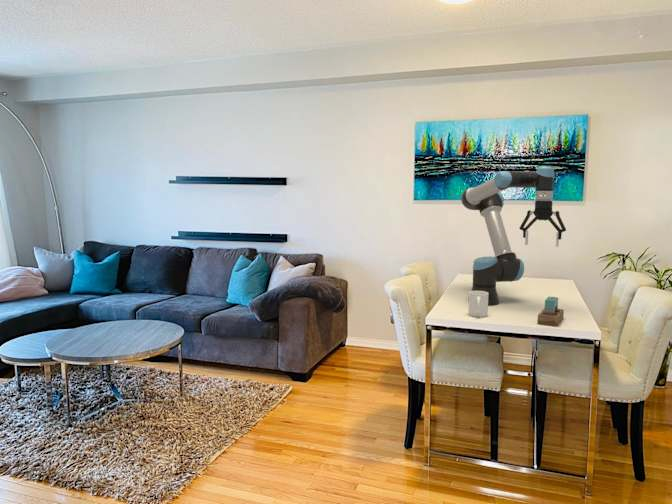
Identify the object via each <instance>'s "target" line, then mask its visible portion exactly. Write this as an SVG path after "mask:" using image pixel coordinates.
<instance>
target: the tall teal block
mask: <svg viewBox="0 0 672 504" xmlns="http://www.w3.org/2000/svg"><path fill="white" fill-rule="evenodd" d="M544 308H545V311H544V314H546V315H555V312H557V311H558V309H559V297H558V296H557V297H556V296H548V297H547V298H546V299H545V300H544Z"/></svg>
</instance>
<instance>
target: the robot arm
mask: <svg viewBox="0 0 672 504" xmlns="http://www.w3.org/2000/svg"><path fill="white" fill-rule="evenodd" d="M554 179H555V168H554V167H553V166H538V167H537V168H536V171H510V170H507V171H506V170H503V171H498V172H497V173H496V174H495V176H494V177H493V178H491V179H489V180H487V181H485V182H482V183H481V184H479V185H476V186H475V187H474V186H472V187H469V188H467V189H465V190H464V191H463V192H462V193H461V197H460V198H461V199H460V200H461V203H462V205H463V206H464V208H466V209H468V210H470V211H479V213H480V216H481V217H483V218H484V222H485V225H486V228H487V232H488V236H489V239H490V243H491V246H492V250H493V253H494V256H481V257H477V258H475V259H474V260H473V265H472V288H471V290H470V291H485V292H488V293H489V294H488V306H496V305H499V303H500V298H499V294H498V292H497V283H501V282H503V283H505V282H509V283H510V282H516V281H517V282H518V281H519V280H521V278H522V277H523V276H524V272H525V264H524V262H523V260H522V259H520V258H517V255H516V253H515V252H513V251H512V249H511V245H510V242H509V238H508V235H507V231H506V228H505V224H504V221H503V218H502V215H501V212H502V210H503V209H502V208H503V207H504V202H505V199H504V196H503V194H502V192H503V191H505V190H507V189H509V188H511V189H512V188H522V189H523V188H525V189H531V188H532V189H533V188H534V189H535V199H534V200H535V201H534V210H531V209H530V210H527V212H526V216H525V218H524V220H523V221H522V222H521V225H520V226H519V230H520V231H522V238H524V239H525V240H524V241H525V242H524V246H528V245H529V229H530V228H531V226H532V225H533V224H534V223H535V222H537V220H538V221H548V222H550V224H551V225H552V226H553V228H555V230H556V231H557V232H556V233H555V237H556V238H555V247H556V248H558V247H559V243H560V242H559V241H560V240H562V236H563V235H562V234H563V232H566V231H567V229H566V226H565V224H564V222H563V219H562V217H561V216H560V215H561V214H560V211H559V210H555V211H554V210H553V201H552V200H553V197H554V181H555V180H554ZM532 215H534V216H535V217H533V219H532V220H531V221H530V222H529V223H528V224H527V222H528V221H529V219H530V217H531V216H532ZM553 215H554V216H555V218H556V220H557V221H558V223H559V226H558V224H557V223H556V222H555V221H554V219H553V218H552V216H553ZM560 227H561V228H560ZM468 302H469V299H468Z"/></svg>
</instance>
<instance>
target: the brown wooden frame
mask: <svg viewBox="0 0 672 504" xmlns="http://www.w3.org/2000/svg"><path fill="white" fill-rule="evenodd" d="M544 311H545V307H543V309H542V310H541V311H540V312H539V313H538V314H537V321H536V324H537V325H542V326H549V327H550V326H551V327H558V326H559V325H560V324H561V322H562V321H563V319H564V311H565V310H564V309H563V308H561V309H560V308H558V311H557V312H555V315H546V314H544Z"/></svg>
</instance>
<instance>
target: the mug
mask: <svg viewBox="0 0 672 504" xmlns="http://www.w3.org/2000/svg"><path fill="white" fill-rule="evenodd" d="M488 294H489V293H488V292H485V291H471V290H470V291H469V292H468V300H469V301H468V315H469V316H471V317H473V316H474V317H475V318H486V317H487V316H488V313H489V311H488V310H489V305H488ZM474 317H473V318H474Z"/></svg>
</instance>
